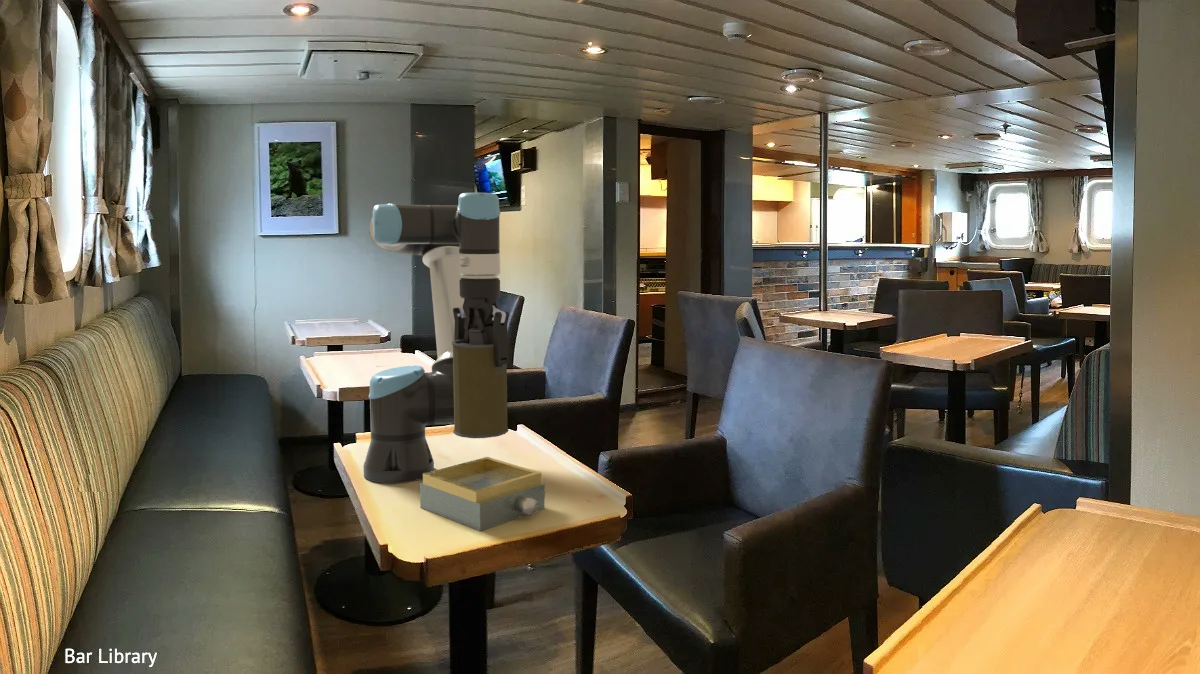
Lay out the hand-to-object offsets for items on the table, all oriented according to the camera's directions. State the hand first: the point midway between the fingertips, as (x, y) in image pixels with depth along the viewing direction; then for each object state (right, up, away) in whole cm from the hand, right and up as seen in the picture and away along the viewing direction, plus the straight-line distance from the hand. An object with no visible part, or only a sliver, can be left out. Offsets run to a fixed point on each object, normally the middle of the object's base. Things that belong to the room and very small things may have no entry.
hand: (481, 398), depth 151 cm
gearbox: (+1, -22, +2) cm, 22 cm away
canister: (0, -6, +1) cm, 7 cm away
